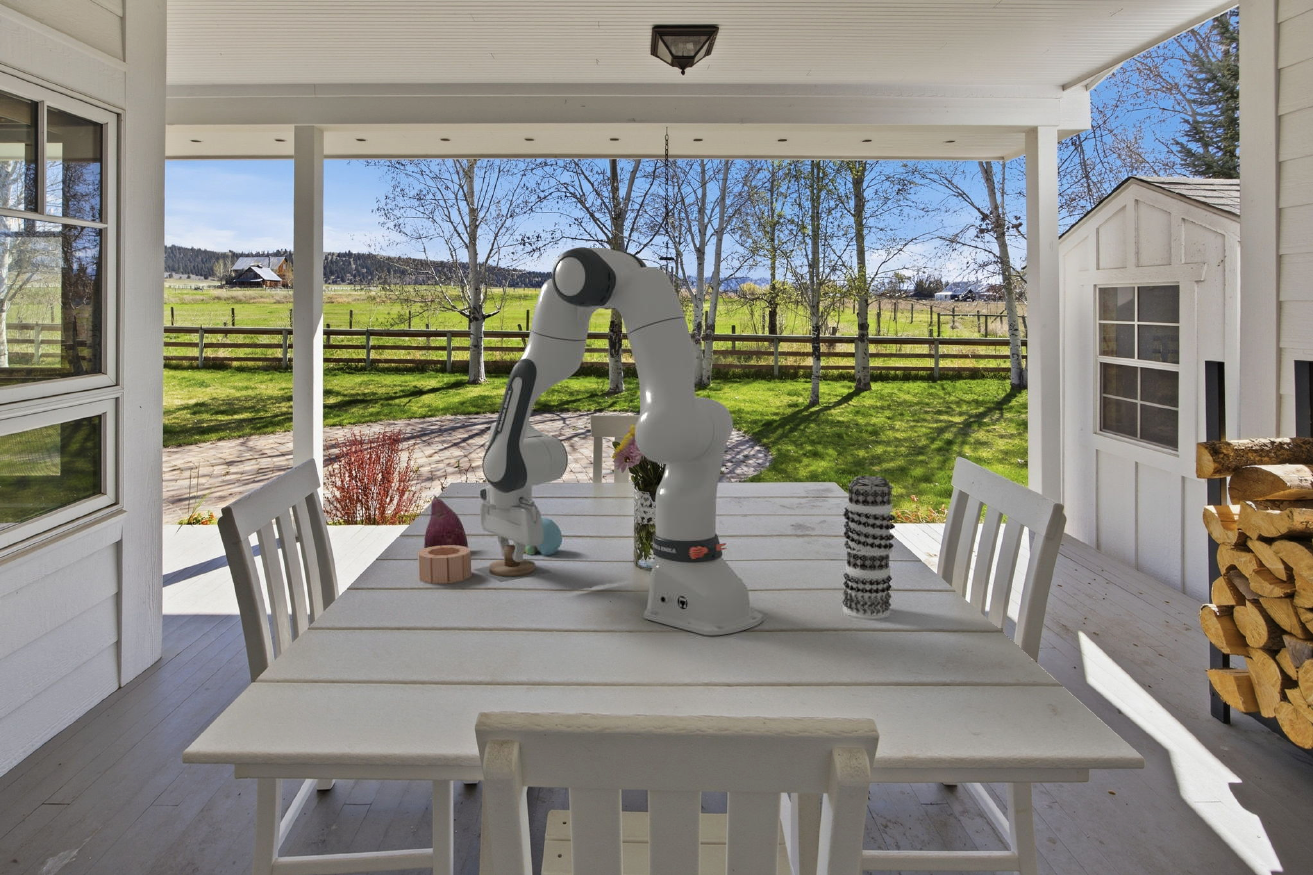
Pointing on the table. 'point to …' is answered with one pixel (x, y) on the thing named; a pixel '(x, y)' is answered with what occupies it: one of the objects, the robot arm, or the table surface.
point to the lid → (511, 565)
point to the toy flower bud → (547, 539)
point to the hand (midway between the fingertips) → (512, 558)
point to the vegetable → (444, 527)
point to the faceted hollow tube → (444, 564)
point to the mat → (500, 578)
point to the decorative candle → (868, 548)
